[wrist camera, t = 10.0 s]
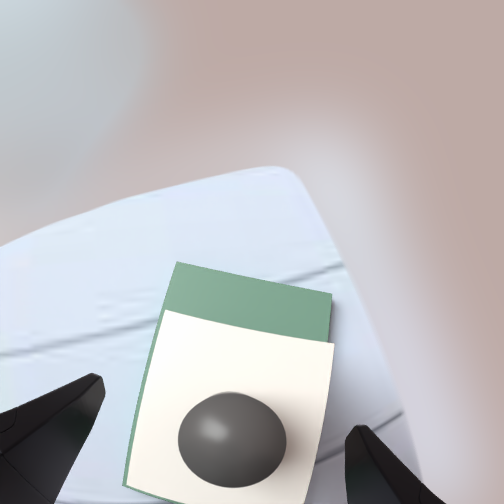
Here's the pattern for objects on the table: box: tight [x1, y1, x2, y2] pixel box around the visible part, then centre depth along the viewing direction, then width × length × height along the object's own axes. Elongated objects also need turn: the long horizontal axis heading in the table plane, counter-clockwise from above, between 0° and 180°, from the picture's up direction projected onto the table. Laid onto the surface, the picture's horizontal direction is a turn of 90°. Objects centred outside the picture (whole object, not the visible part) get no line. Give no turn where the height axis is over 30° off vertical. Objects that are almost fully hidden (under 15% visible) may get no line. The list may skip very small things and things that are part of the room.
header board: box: [122, 262, 332, 504], centre depth 15 cm, size 18×12×4 cm, turn 169°
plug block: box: [126, 310, 334, 504], centre depth 10 cm, size 5×4×14 cm
